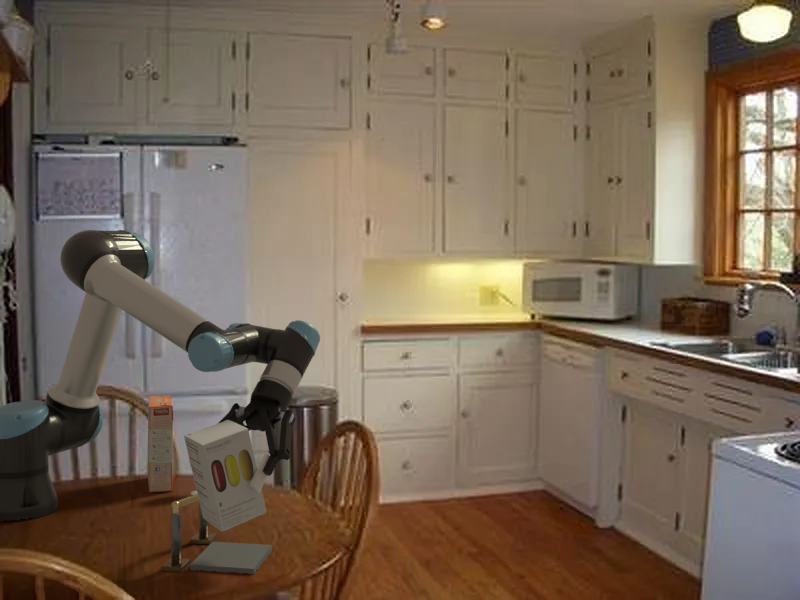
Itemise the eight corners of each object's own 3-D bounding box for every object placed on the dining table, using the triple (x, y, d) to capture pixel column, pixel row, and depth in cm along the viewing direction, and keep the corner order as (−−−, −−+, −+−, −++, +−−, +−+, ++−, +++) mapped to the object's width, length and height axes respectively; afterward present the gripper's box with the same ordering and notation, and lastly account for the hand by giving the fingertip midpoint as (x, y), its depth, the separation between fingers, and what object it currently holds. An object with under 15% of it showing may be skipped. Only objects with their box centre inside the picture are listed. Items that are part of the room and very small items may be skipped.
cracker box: (174, 491, 202) (173, 405, 200) (148, 493, 200) (147, 406, 199) (172, 476, 215) (172, 394, 214) (148, 477, 214) (147, 395, 212)
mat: (190, 570, 155) (190, 564, 155) (213, 546, 167) (212, 541, 167) (253, 574, 153) (253, 568, 153) (272, 550, 165) (272, 545, 165)
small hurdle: (152, 569, 155) (151, 516, 154) (189, 535, 173) (189, 487, 172) (182, 571, 154) (182, 517, 153) (216, 537, 172) (216, 488, 171)
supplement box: (221, 533, 152) (200, 446, 148) (201, 519, 159) (180, 435, 156) (268, 512, 157) (249, 427, 153) (247, 499, 164) (228, 417, 161)
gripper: (334, 405, 166) (289, 504, 153) (235, 394, 177) (186, 485, 164) (319, 382, 161) (271, 482, 148) (219, 372, 172) (166, 464, 159)
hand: (226, 484), depth 156 cm, fingers closed on supplement box, 12 cm apart
